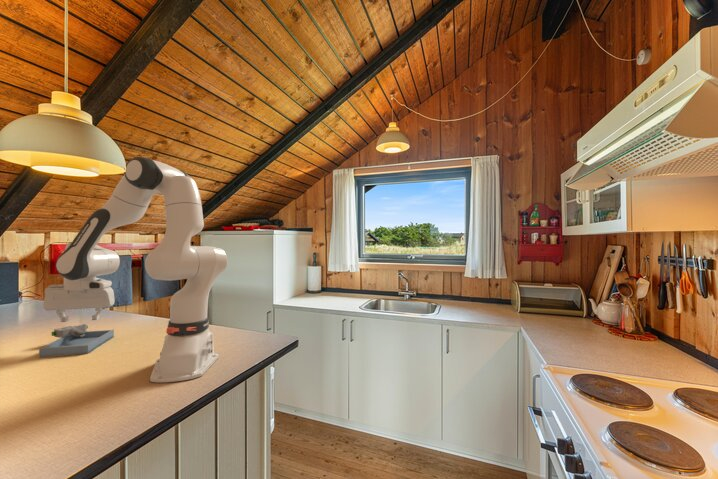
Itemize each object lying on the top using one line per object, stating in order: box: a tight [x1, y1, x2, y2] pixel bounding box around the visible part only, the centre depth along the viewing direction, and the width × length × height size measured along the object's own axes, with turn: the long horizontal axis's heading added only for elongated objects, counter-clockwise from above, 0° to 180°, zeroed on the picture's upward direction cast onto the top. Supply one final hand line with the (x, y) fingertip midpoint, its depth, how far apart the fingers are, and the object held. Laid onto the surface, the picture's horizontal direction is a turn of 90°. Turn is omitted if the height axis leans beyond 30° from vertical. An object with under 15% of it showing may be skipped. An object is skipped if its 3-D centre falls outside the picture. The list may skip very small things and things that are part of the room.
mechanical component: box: [51, 323, 88, 339], centre depth 113 cm, size 3×10×10 cm
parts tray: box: [38, 329, 115, 358], centre depth 110 cm, size 18×14×3 cm
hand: (80, 320), depth 110 cm, fingers open, 8 cm apart
